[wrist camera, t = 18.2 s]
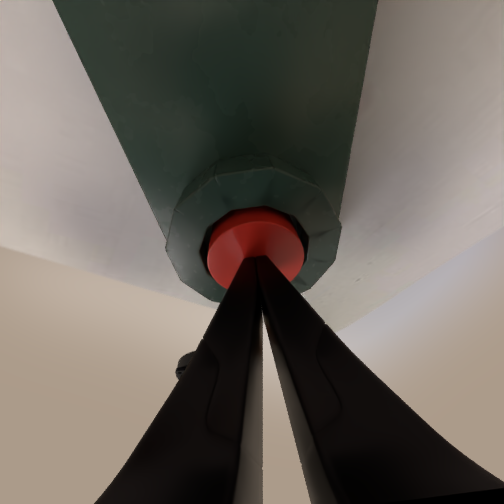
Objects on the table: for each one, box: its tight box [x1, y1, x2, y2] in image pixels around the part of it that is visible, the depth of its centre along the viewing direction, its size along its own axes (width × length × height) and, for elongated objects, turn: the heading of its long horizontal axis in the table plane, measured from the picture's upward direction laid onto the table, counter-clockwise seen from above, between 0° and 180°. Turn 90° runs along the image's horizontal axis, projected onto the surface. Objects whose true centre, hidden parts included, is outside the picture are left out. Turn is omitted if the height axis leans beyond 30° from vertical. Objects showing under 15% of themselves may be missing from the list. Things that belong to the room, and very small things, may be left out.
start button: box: [207, 205, 304, 289], centre depth 8 cm, size 4×4×2 cm
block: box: [52, 0, 378, 306], centre depth 8 cm, size 11×8×3 cm
